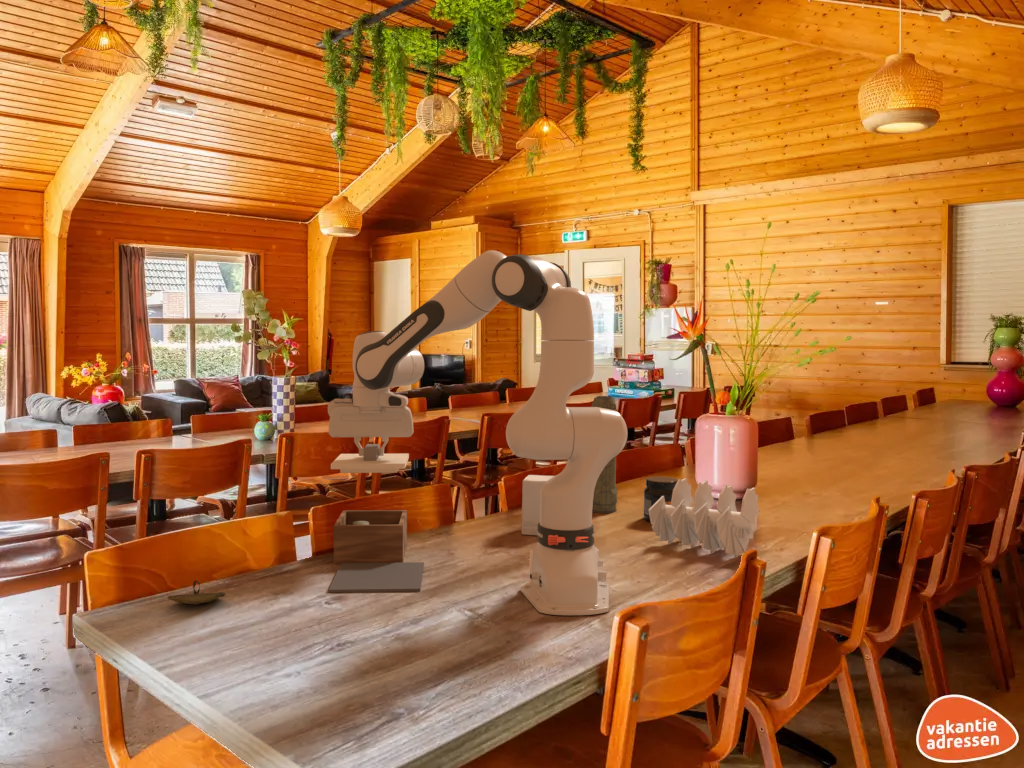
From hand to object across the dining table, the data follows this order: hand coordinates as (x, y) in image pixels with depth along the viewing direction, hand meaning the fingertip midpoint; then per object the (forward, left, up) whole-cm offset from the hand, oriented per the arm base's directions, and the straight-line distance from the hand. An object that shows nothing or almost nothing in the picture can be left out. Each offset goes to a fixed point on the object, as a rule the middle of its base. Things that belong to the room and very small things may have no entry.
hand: (371, 455), depth 193 cm
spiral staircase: (+1, -83, -25) cm, 87 cm away
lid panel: (0, 0, -3) cm, 3 cm away
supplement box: (+20, -43, -25) cm, 54 cm away
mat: (-19, -3, -24) cm, 31 cm away
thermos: (+46, -65, -25) cm, 84 cm away
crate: (0, 0, -24) cm, 24 cm away
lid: (-35, +31, -25) cm, 53 cm away
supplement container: (+33, -80, -25) cm, 91 cm away
